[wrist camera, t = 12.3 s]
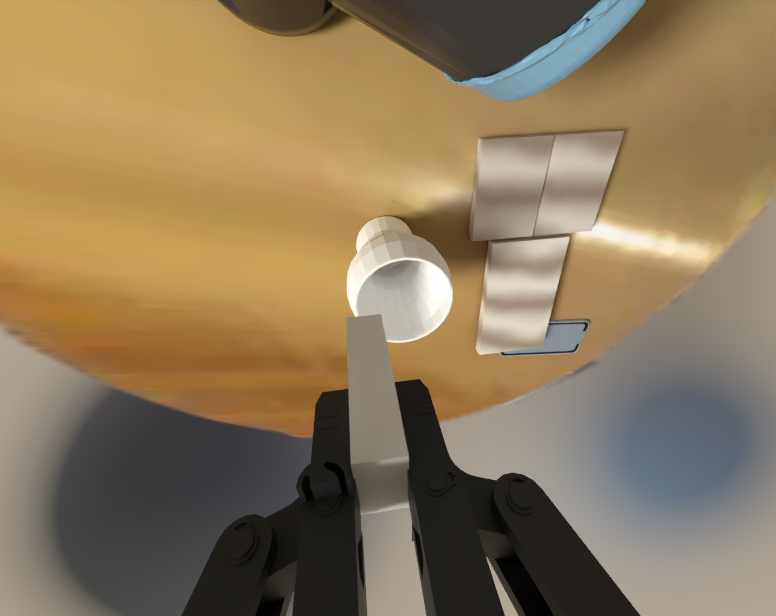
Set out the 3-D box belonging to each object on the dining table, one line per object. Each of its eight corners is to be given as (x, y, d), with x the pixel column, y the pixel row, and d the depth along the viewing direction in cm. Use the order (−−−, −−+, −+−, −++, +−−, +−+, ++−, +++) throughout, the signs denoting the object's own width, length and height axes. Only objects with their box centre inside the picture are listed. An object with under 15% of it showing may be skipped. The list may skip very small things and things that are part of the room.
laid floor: (478, 138, 36) (483, 139, 35) (614, 129, 38) (624, 130, 36) (468, 237, 43) (472, 241, 41) (584, 227, 44) (591, 230, 43)
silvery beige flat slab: (488, 238, 43) (493, 242, 42) (563, 232, 44) (570, 235, 43) (475, 348, 53) (479, 354, 51) (537, 341, 54) (542, 347, 52)
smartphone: (508, 323, 52) (591, 320, 54) (506, 320, 53) (587, 317, 54) (498, 356, 56) (576, 353, 57) (496, 353, 57) (572, 350, 58)
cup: (438, 227, 41) (481, 279, 29) (399, 290, 46) (421, 359, 33) (367, 188, 38) (381, 230, 25) (332, 261, 42) (329, 327, 30)
